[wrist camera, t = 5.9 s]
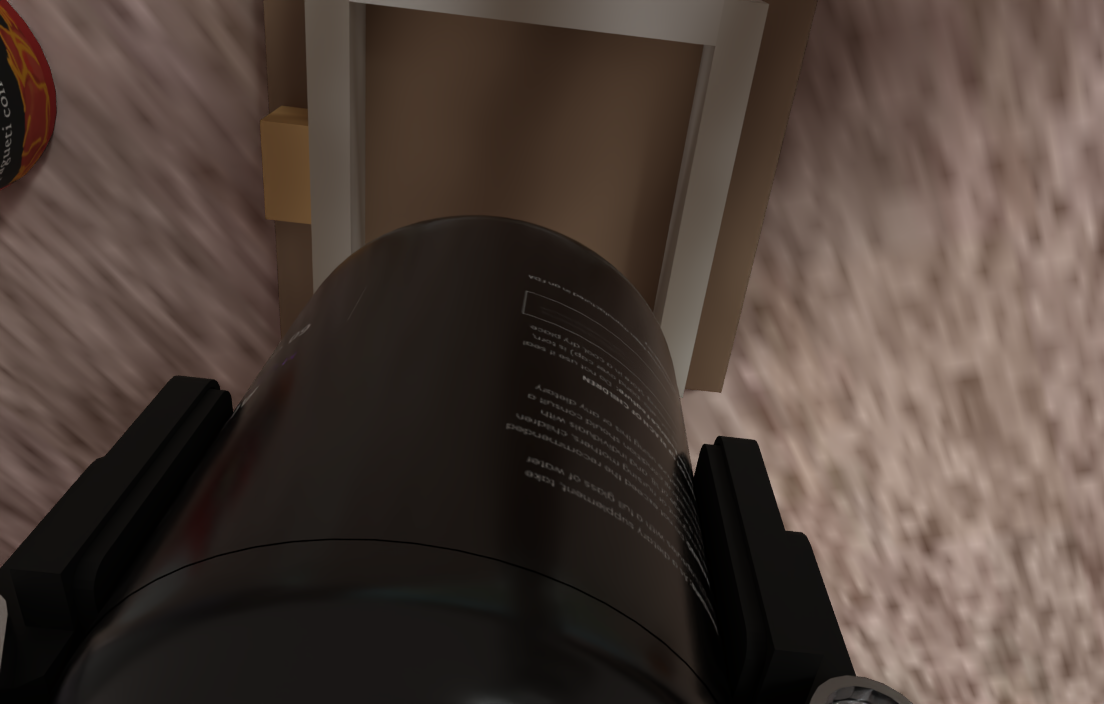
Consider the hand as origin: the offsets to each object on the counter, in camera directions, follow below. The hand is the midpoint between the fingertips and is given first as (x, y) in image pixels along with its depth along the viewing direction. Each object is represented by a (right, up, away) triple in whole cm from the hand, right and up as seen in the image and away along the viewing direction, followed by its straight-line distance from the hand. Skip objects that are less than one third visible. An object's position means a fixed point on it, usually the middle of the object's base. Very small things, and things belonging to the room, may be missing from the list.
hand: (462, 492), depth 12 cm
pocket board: (0, +8, +15) cm, 17 cm away
